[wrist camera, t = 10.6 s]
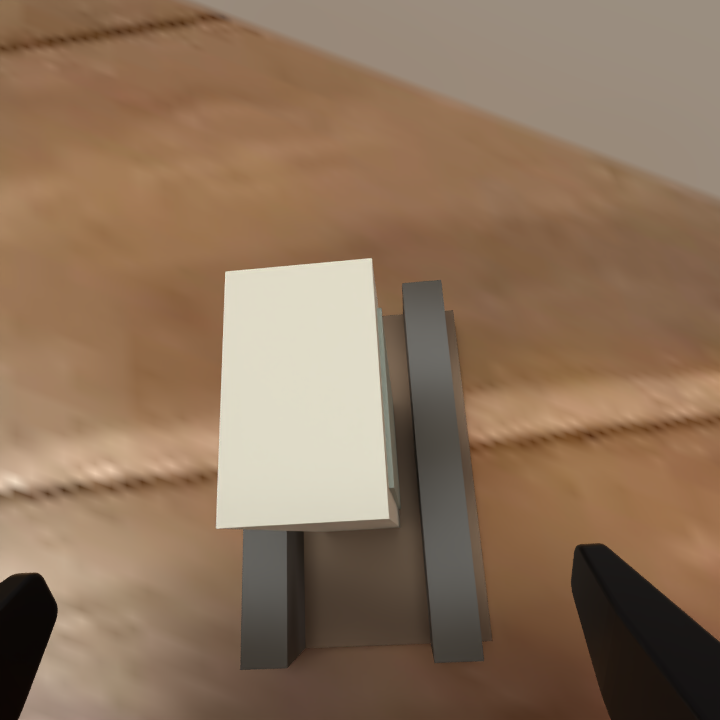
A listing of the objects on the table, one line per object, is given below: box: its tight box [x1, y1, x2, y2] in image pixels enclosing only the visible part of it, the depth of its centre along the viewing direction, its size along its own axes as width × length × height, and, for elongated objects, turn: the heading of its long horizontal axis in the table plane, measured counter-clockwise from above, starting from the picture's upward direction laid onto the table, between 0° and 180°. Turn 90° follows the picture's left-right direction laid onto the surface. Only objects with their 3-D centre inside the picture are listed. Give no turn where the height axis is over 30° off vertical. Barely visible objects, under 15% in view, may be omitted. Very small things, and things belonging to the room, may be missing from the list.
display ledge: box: [240, 280, 492, 670], centre depth 20 cm, size 13×9×4 cm
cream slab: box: [216, 258, 401, 532], centre depth 15 cm, size 5×3×12 cm, turn 3°
